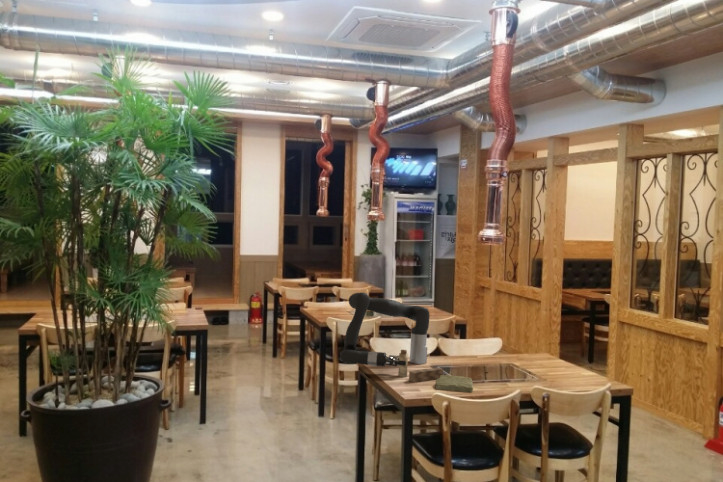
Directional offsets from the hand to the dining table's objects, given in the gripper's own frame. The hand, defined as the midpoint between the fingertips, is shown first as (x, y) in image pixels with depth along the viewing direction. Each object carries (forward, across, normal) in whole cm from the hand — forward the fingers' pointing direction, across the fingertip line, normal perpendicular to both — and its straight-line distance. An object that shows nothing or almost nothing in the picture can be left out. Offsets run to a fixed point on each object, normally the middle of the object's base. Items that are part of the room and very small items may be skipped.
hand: (406, 361), depth 339 cm
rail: (+11, -3, +8) cm, 14 cm away
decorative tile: (+26, -11, +9) cm, 29 cm away
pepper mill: (-2, 0, +8) cm, 8 cm away
